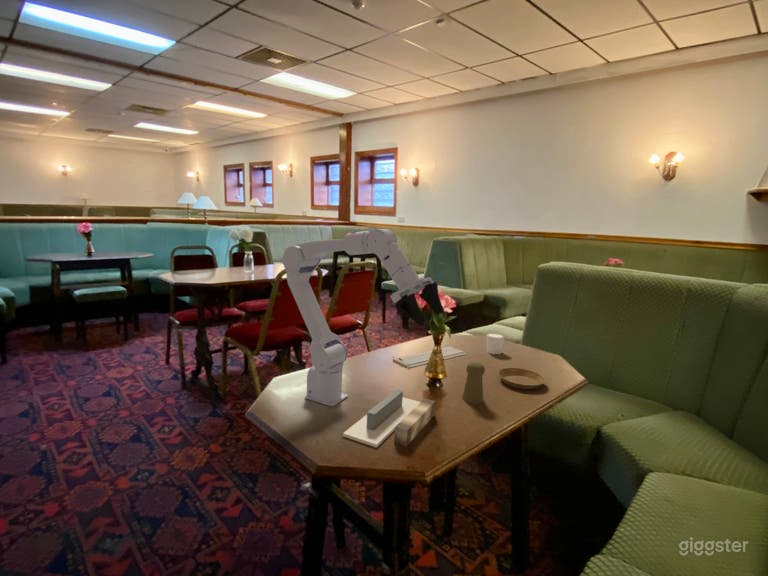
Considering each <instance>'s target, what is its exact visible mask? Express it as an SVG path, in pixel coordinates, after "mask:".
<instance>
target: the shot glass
mask: <svg viewBox="0 0 768 576" xmlns="http://www.w3.org/2000/svg"><path fill="white" fill-rule="evenodd" d="M504 340H505V336H504V335H503V334H499V333H491V332H490V333H487V334H486V352H487V353H488V354H491V355H495V354H498V355H501V354H502V349H503V344H504Z"/></svg>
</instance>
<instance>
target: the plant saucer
mask: <svg viewBox="0 0 768 576" xmlns="http://www.w3.org/2000/svg"><path fill="white" fill-rule="evenodd" d="M497 375H498V376H499V377H500V379H501V380H502V381H503V382H504V384H506V385H507V384H508V385H507V386H509V385H510V387H512V388H515V387H516V388H515V389H518V388H520V389H519V390H525V389H531V390H535V388H536V389H538V388H540V387H541V386H543V384H545V382H546V379H545V377H544V376H543V375H541V374H540V373H537V372H535V371H532V370H530V369H525V368H521V367H505V368H502V369H500V370H498V373H497ZM515 376H523V377H528V378H531V379H534V380H535V381H537V382H538V383H539V384H538V385H524V384H518V383H516V382H515V381H513V380H512V379H511V378H515ZM505 378H506V379H507V378H508V379H509V378H510V379H511V380H510V379H509V380H506V379H505ZM514 382H515V383H514Z"/></svg>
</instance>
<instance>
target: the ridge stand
mask: <svg viewBox="0 0 768 576" xmlns="http://www.w3.org/2000/svg"><path fill="white" fill-rule="evenodd" d="M403 394H404V391H403V390H399V389H395V390H393V392H391V393H390V394H389V395H387V396H386V397H385V398H383V399H382V400H381V401H380V402H378V403H376V405H375V406H373V407H372V408H371V409H369V410H368V411H367V414H366V415H364V416H363V417H362V418H360V419H359V420H358V421H356V422H355V423H354V424H353V425H351V426H350V427H349V428H348V429H346V430H345V431H343V433H342V437H344V438H347V439H350V440H352V441H355V442H358V443H362V444H365V445H368V446H370V447H372V448H375V449H376V448H379V446H380V445H381V444H382V443H383V442H384V441H385V440H386V439H387V438H388V437H389V436H390V435H391V434H393V432H395V426H396V425H397V424H398V423H399V422H401V421H402V420H403V419H404V418H405V417H406V416H407V415H408V414H409V413H410V412H411V411H412V410H413V409H414V408H415V407H416V406H418V405H419V404H420V403H421V401H418V400H415V399H410V398H407V397H404V396H403Z"/></svg>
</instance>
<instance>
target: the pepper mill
mask: <svg viewBox="0 0 768 576" xmlns="http://www.w3.org/2000/svg"><path fill="white" fill-rule="evenodd" d="M485 370H486V369H485V365H483V363H480V362H476V361H472V362H469V363H468V364H467V365H466V373H467V375H466V380H465V383H464V388H463V393H462V397H461V399H462V400H463V401H464V402H466V403H467V404H472V405H479V404H483V402H484V389H483V375H484V374H485Z"/></svg>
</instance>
